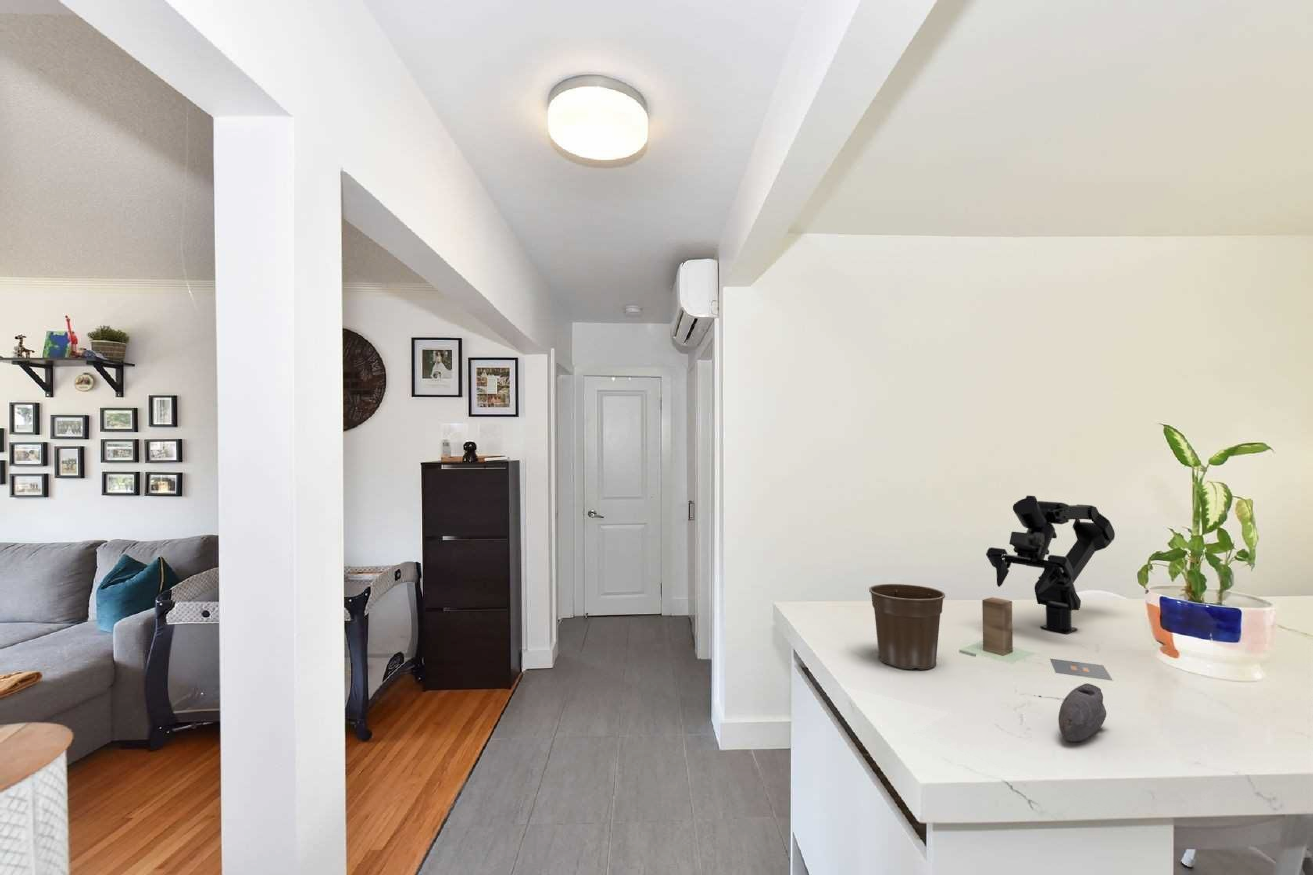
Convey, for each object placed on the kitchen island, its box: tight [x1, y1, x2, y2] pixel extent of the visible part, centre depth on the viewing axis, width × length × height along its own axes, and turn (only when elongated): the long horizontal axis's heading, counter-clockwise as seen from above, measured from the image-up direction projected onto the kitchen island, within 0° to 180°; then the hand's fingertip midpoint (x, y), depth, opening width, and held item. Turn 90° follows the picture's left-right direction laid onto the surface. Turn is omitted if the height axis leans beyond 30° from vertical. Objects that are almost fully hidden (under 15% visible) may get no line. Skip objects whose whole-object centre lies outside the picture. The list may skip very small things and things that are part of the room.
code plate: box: [1049, 658, 1114, 681], centre depth 133 cm, size 10×10×1 cm
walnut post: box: [981, 596, 1014, 656], centre depth 145 cm, size 5×5×12 cm
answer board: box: [959, 640, 1037, 665], centre depth 145 cm, size 12×12×1 cm
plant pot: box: [868, 583, 946, 671], centre depth 140 cm, size 16×16×16 cm
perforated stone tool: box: [1057, 682, 1107, 743], centre depth 105 cm, size 15×5×7 cm, turn 128°
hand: (1017, 589), depth 152 cm, fingers open, 9 cm apart
